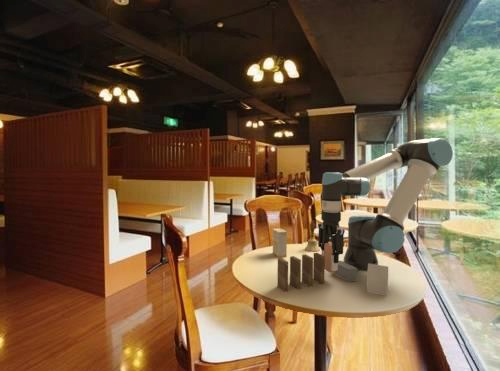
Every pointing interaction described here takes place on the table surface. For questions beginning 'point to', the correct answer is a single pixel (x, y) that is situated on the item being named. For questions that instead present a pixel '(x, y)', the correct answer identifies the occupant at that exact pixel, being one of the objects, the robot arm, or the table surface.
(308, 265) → the walnut tile
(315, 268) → the walnut tile
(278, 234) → the supplement box
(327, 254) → the terracotta tile
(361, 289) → the table surface
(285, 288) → the walnut tile
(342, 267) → the block
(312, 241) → the hand bell
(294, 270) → the walnut tile
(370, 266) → the beige boxy piece
